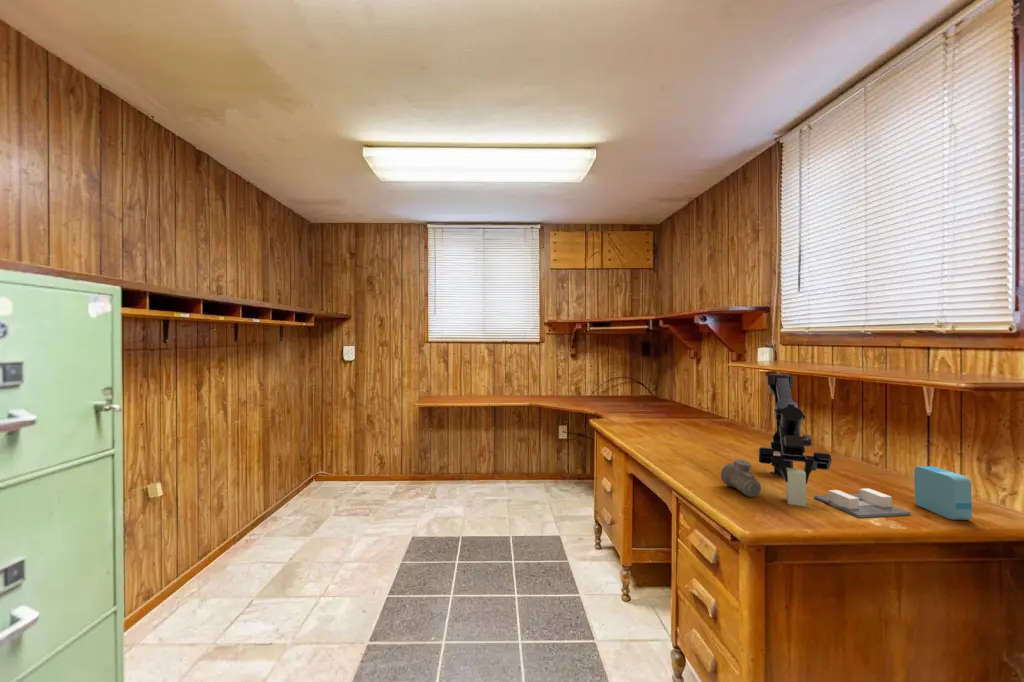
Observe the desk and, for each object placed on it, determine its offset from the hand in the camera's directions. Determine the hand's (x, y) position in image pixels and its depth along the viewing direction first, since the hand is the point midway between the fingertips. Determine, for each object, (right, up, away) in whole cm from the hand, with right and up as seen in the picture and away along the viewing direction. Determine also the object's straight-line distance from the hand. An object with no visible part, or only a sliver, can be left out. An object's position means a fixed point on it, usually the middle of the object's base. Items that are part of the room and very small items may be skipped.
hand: (796, 482), depth 124 cm
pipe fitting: (-10, -7, +11) cm, 17 cm away
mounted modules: (+18, -6, -2) cm, 19 cm away
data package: (+37, -6, -7) cm, 38 cm away
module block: (+1, -7, +1) cm, 7 cm away
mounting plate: (+18, -6, -2) cm, 19 cm away
